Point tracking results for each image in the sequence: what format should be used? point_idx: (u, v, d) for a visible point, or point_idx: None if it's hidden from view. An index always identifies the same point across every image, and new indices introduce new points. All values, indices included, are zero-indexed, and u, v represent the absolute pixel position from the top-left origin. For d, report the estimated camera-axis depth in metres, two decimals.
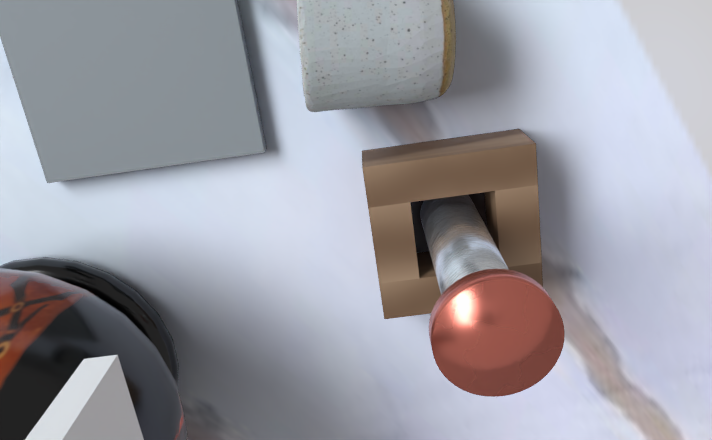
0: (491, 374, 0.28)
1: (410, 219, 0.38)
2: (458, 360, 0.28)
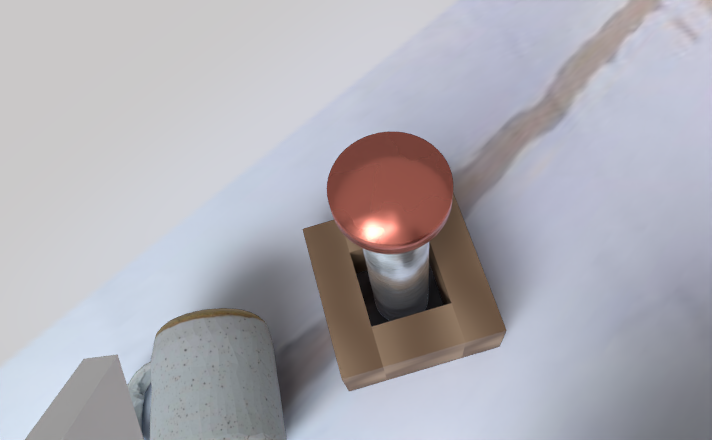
0: (427, 183, 0.28)
1: (389, 323, 0.38)
2: (417, 214, 0.28)
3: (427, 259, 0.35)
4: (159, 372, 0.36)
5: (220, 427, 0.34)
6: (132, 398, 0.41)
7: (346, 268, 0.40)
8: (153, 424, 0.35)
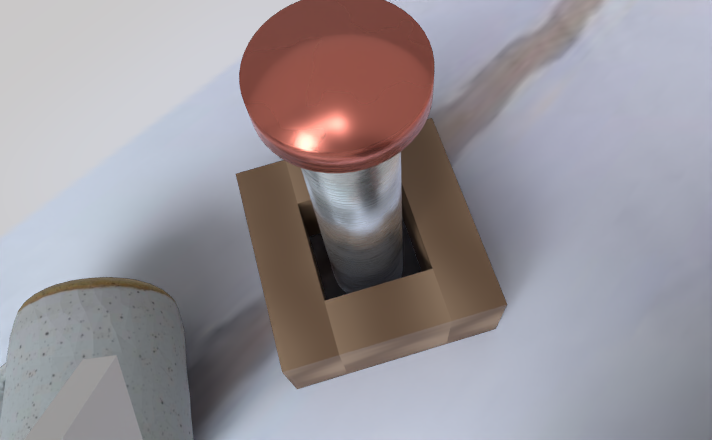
0: (395, 63, 0.18)
1: (348, 296, 0.28)
2: (377, 108, 0.18)
3: (398, 202, 0.25)
4: (11, 365, 0.26)
5: None
6: None
7: (292, 224, 0.30)
8: None
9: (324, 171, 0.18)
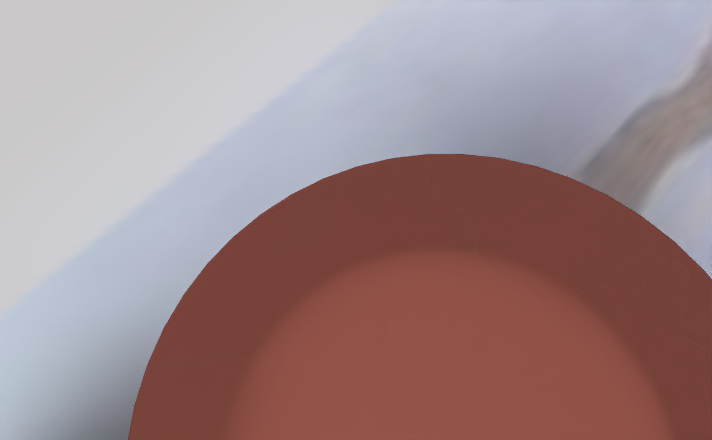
0: (652, 433, 0.05)
1: None
2: None
3: None
4: None
5: None
6: None
7: None
8: None
9: None
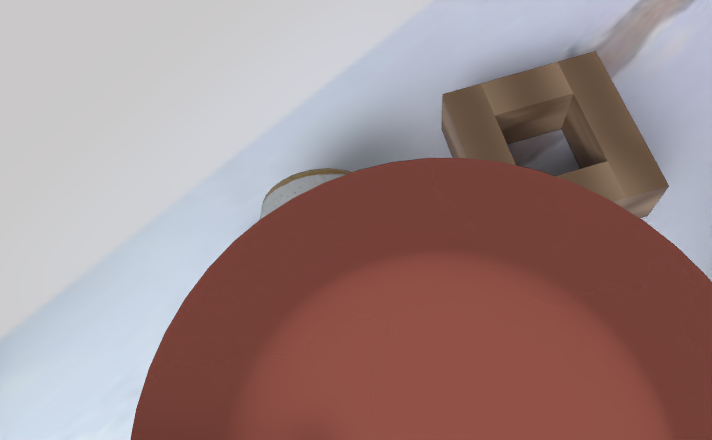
0: (654, 436, 0.05)
1: None
2: None
3: None
4: None
5: None
6: None
7: (492, 130, 0.39)
8: None
9: None
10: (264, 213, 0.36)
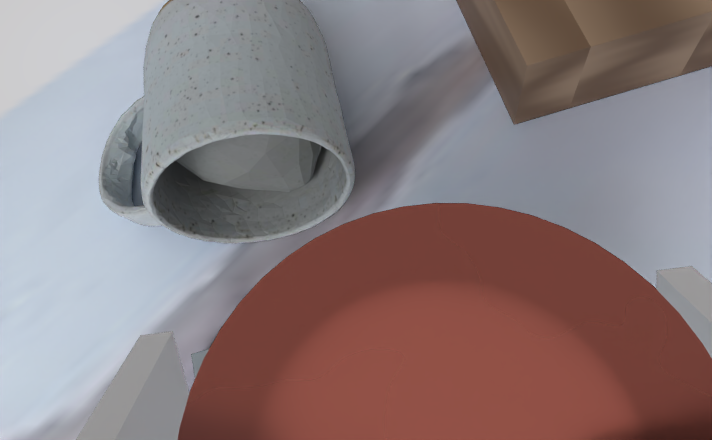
0: None
1: None
2: None
3: None
4: (156, 57, 0.23)
5: (256, 107, 0.20)
6: (117, 151, 0.28)
7: None
8: (146, 129, 0.22)
9: None
10: (147, 45, 0.24)
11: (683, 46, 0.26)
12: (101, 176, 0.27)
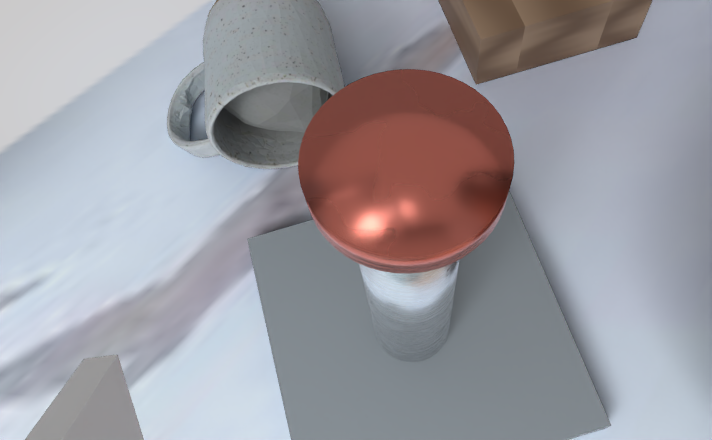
0: (470, 151, 0.17)
1: None
2: (453, 205, 0.16)
3: (456, 277, 0.23)
4: (214, 34, 0.34)
5: (285, 65, 0.31)
6: (179, 105, 0.38)
7: None
8: (209, 82, 0.33)
9: (392, 271, 0.17)
10: (206, 27, 0.35)
11: (594, 27, 0.36)
12: (169, 122, 0.38)
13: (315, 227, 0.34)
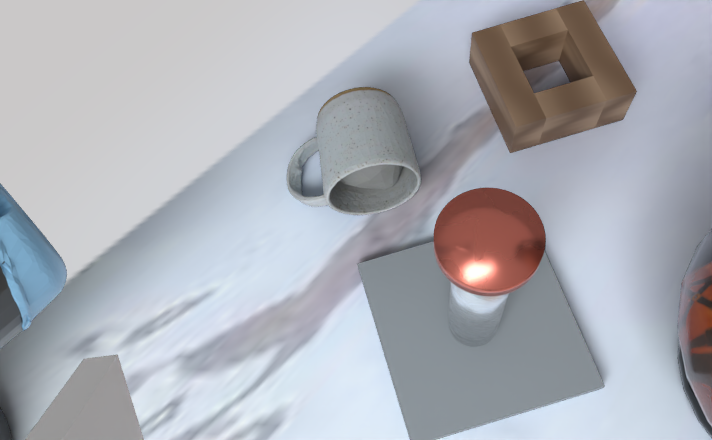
0: (522, 233, 0.33)
1: (547, 90, 0.52)
2: (515, 262, 0.32)
3: None
4: (329, 127, 0.50)
5: (383, 152, 0.47)
6: (294, 169, 0.54)
7: (509, 57, 0.53)
8: (328, 161, 0.49)
9: (483, 295, 0.33)
10: (321, 119, 0.51)
11: (593, 115, 0.52)
12: (288, 181, 0.54)
13: (404, 256, 0.50)
